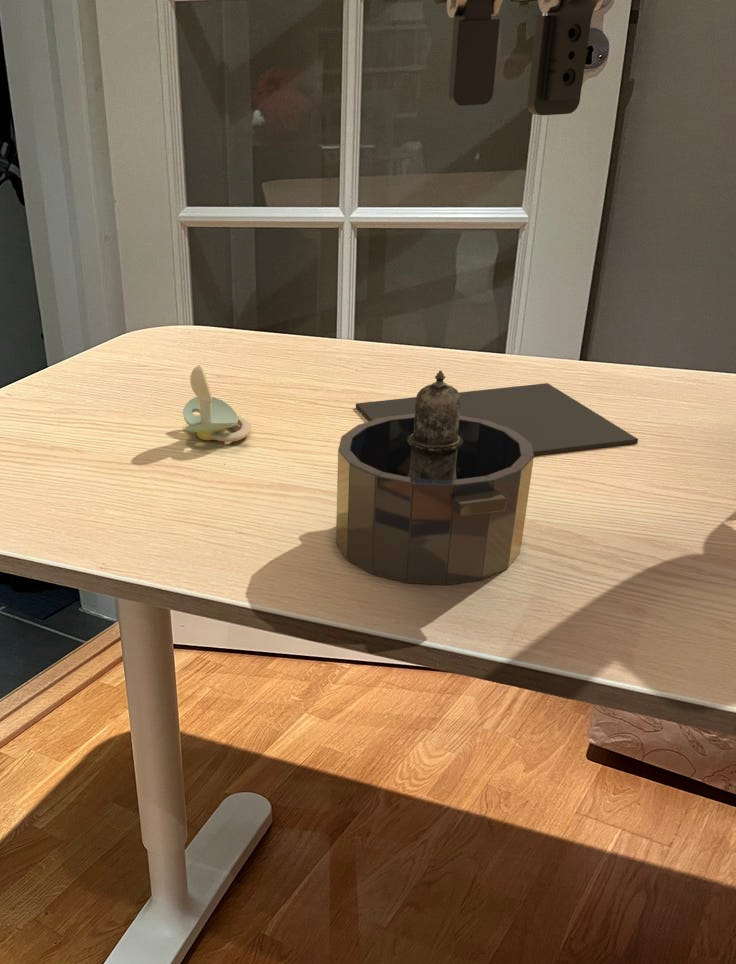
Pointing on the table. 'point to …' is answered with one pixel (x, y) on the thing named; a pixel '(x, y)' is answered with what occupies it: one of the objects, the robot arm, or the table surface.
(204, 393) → the pacifier
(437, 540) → the pot
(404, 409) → the mat
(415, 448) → the salt shaker
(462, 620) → the table surface
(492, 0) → the robot arm
